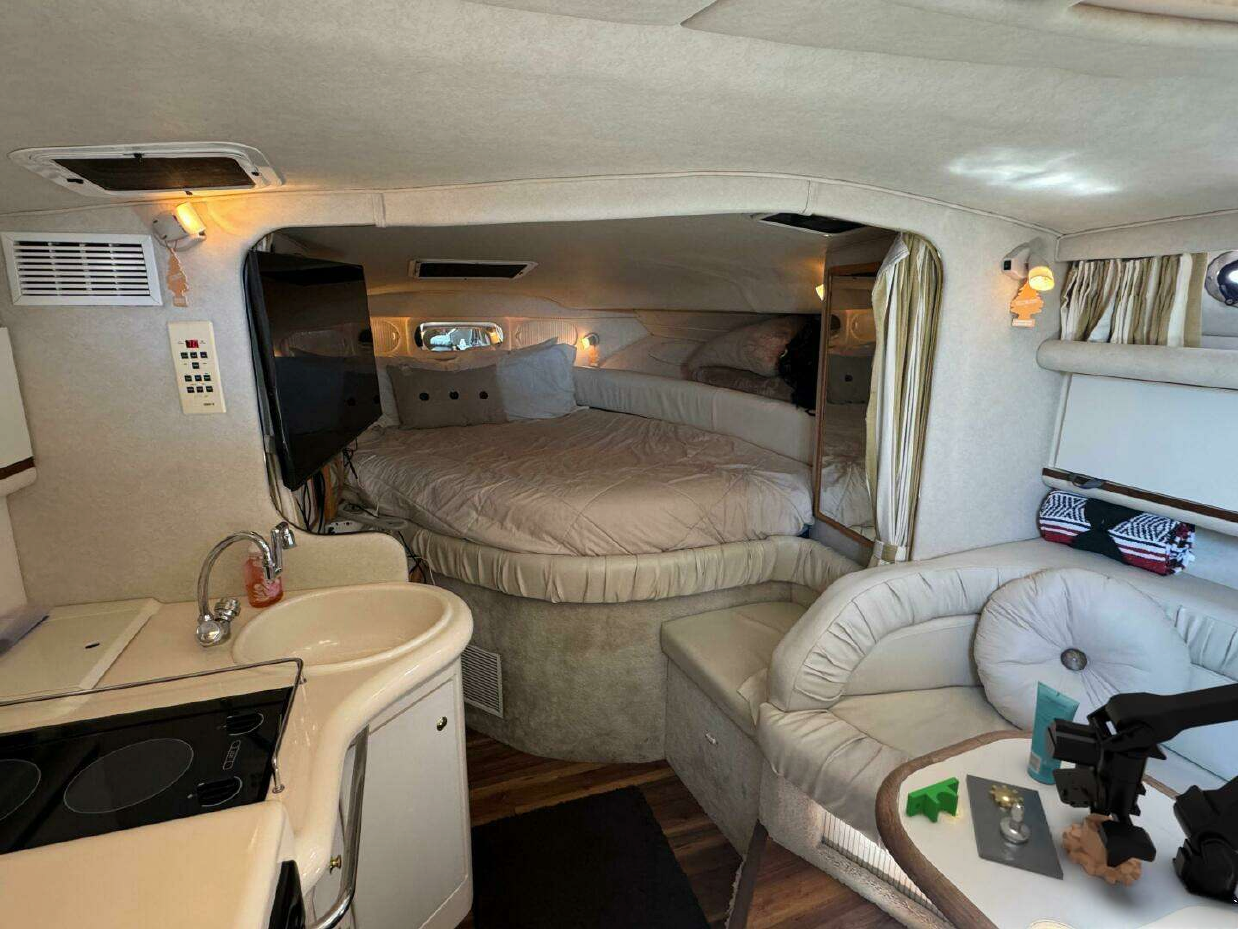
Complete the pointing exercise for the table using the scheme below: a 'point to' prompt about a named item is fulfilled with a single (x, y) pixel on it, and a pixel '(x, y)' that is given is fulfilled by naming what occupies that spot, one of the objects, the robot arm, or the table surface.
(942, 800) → the pipe clamp
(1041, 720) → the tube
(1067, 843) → the planet gear
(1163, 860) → the table surface
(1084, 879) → the table surface
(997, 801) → the carrier plate
